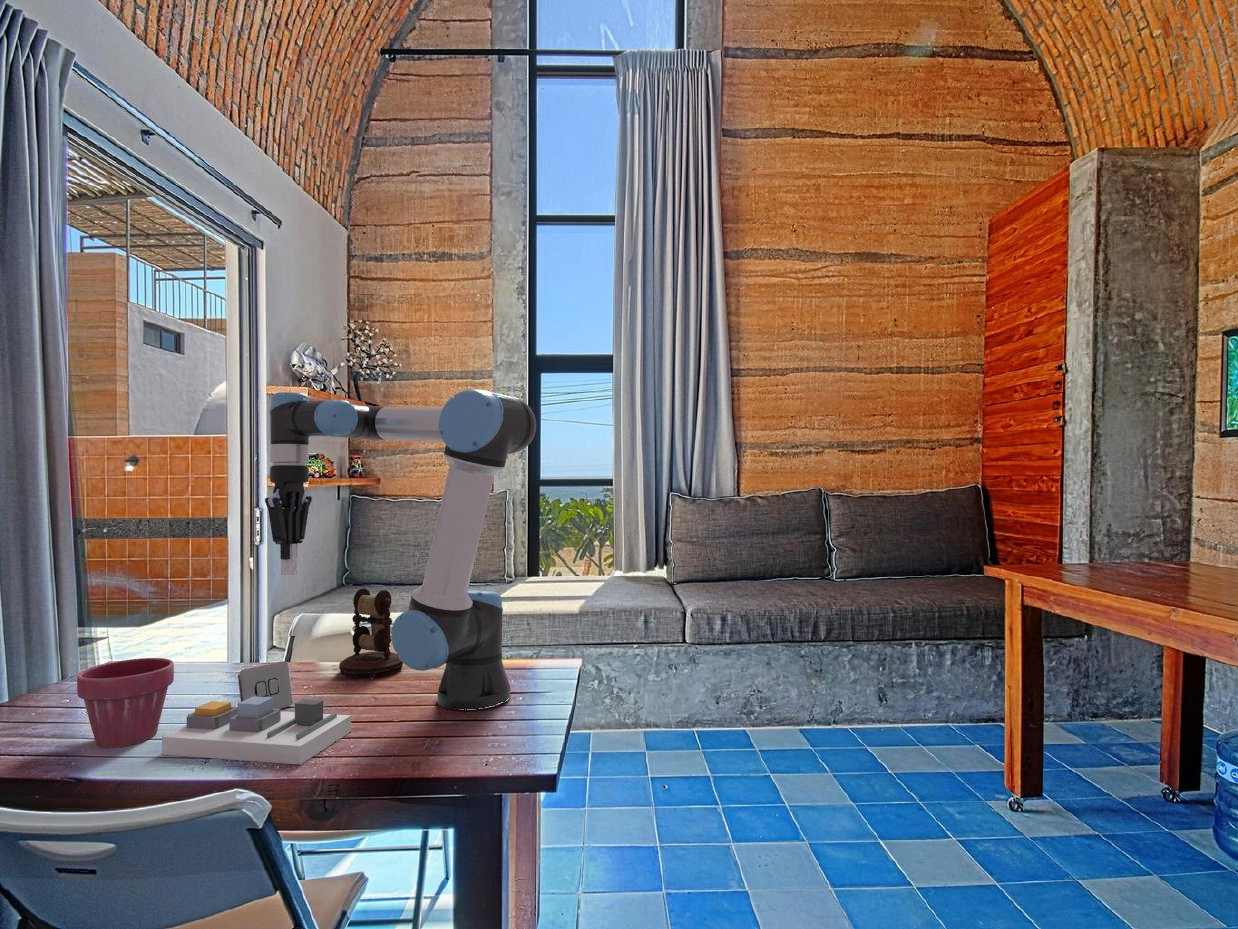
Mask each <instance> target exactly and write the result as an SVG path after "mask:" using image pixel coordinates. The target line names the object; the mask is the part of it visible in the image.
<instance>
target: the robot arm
mask: <svg viewBox="0 0 1238 929" xmlns="http://www.w3.org/2000/svg"><path fill="white" fill-rule="evenodd" d="M269 409H270V410H269V415H270V416H269V418H270V419H269V420H270V421H269V422H270V425H269V426H270V428H269V429H270V430H269V431H270V433H269V434H270V437H269V438H270V454H269V455H270V460H269V462H270V463H271V464H273V465H271V466H270V468H269V482H270V483H272V484H274V487H273V491H272V495H271V496H269V497H265V498H264V503H265V506H266V507H267V510H268V517H269V518H268V519H269V523H270V524H269V525H270V529H271V537H272V542H273V543H275V545H280V546H279V547H280V549H279V550H280V553H279V554H280V556H279V557H280V575H282V576H284V575H285V576H293V575H297V574H298V573H297V572H298V569H297V566H298V561H297V559H298V544H303V540H305V537H306V529H307V524H308V517H309V509H310V505H311V503H312V500H313V497H312V496H310V495H309V496H308V495H306V494H305V492H306V489H305V487H304V484H306V483H308V482H309V474H310V473H309V471H310V470H309V466H307V464H308V463H309V462H310V460H309V458H310V454H309V453H310V452H309V451H310V450H309V448H310V446H309V444H310V442H309V438H310V437H332V438H334V437H335V438H344V439H345V438H346V439H347V438H348V439H362V440H370V441H384V440H385V441H406V442H407V441H408V442H409V441H411V442H435V443H444V444H445V448H444V452H443V456H444V458H445V460H446V461H447V462H448V466H449V467H448V472H447V474H446V480H445V484H444V488H443V492H442V497H441V502H440V506H439V511H438V515H437V519H436V524H435V528H434V533H433V537H432V541H431V546H430V550H429V555H428V560H427V562H426V563H427V564H426V568H425V573H424V577H423V582H422V584H421V585H420V586H419V587H417V588H415V589H414V590H413V591H412V593H411V598H410V601H409V606H408V610H405V611H403V612H402V613H400V615H398V616H397V617H396V618H395V619H394V621H393V622H392V625H391V626H392V627H391V630H390V634H391V645H392V647H393V650H394V652H395V653H396V654H398V657H399V659H400V660H401V661H402V662H403V665H405V666H407V667H408V668H409V669H412V670H415V671H418V672H419V671H420V672H423V671H424V672H425V671H429V670H432V669H433V670H434V669H439V668H441V666H444V665H445V667H444V670H443V674H442V676H441V680H440V683H439V686H438V688H437V700H436V701H437V702H436V703H437V704H438V706H440V705H441V706H442V708H444V707H445V708H444V709H447V708H448V709H447V710H451V709H456V710H455V711H460V710H459V709H464V710H465V709H466V710H467V709H479V708H485V707H489V706H493V705H496V704H498V703H501V702H505V701H506V700H507V699H508V698H509V697H510V698H511V684H510V682H509V678H508V675H507V673H506V669H505V667H504V663H503V612H504V609H503V603H502V602H503V601H502V596H501V594H500V593H498V592H497V591H492V590H478V589H477V590H475V589H473V590H471V589H469V587H470V582H471V577H472V573H473V569H474V565H475V561H476V557H477V551H478V548H479V543H480V540H481V534H482V531H483V526H484V522H485V517H486V512H487V509H488V504H489V500H490V496H491V492H492V487H493V484H494V478H495V476H496V474H498V473H499V472H501V471H502V470H503V469H505V467H506V462H507V458H508V455H510V454H516V453H519V452H522V451H523V450H525V449H526V448H527V447H528V446H529V445H530V444H531V442H532V441H533V440H534V437H535V435H536V432H537V420H536V416H535V414H534V412H533V410H532V408H531V406H530V405H528V404H527V403H526V402H525V401H524V400H522V399H521V398H517V397H514V396H509V395H505V394H500V393H497V392H492V391H488V390H487V389H486V390H485V389H484V390H483V389H471V388H470V389H464V390H461V391H458V392H457V393H456V394H455V395H453V396H451V397H450V398H449V399H448V400H447V401H446V403H445V404H444V405H443V407H442V406H441V407H439V406H438V407H436V406H432V407H431V406H427V407H426V406H380V405H379V406H377V405H376V406H374V405H373V406H372V405H370V406H369V405H360V404H355V403H350V401H348V400H345V399H335V398H334V399H330V398H329V399H327V400H314V401H310V397H309V395H307V394H306V393H303V392H295V391H291V392H290V391H289V392H286V391H285V392H284V391H282V392H281V391H280V392H276V393H274V394H272V395H271V400H270V408H269ZM441 706H440V707H441Z"/></svg>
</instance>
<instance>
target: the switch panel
mask: <svg viewBox="0 0 1238 929" xmlns="http://www.w3.org/2000/svg"><path fill="white" fill-rule="evenodd" d="M185 722H186V725H185V726H183V727H180V728H179V729H176V730H174V731H172V732H170V733H168V734H165V735H163V736H162V737H161V755H164V756H165V755H166V756H176V757H177V756H178V757H179V756H180V757H189V758H190V757H191V758H207V759H219V760H230V761H231V760H232V761H233V760H234V761H246V762H259V763H260V762H261V763H272V764H273V763H274V764H290V765H302V764H304V763H305V762H307V761H308V760H310V759H311V758H313V757H314V756H317V754H319V753H320V751H321V752H322V751H324V750H325V749H327V748H328V747H330V746H331V745H333V744H335V743H336V742H338V741H339V740H340V739H343V738H344V737H346V736H347V735H349V734H350V733H352V715H351V714H350V715H348V714H337V713H336V712H333V713H323V719H322V720H321V721H319V722H317V723H315V724H314V725H305V724H295V711H281V709H273V712H272V713H270V714H268V715H266V716H264V717H262V718H260V719H249V718H238V706H232V705H231V709H230V710H228V711H226V712H224V713H222V714H219V715H217V716H200V715H195V711H193V712H191V713H189V714H188V715H186V721H185ZM349 732H350V733H349ZM335 741H336V742H335ZM334 742H335V743H334Z"/></svg>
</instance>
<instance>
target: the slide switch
mask: <svg viewBox="0 0 1238 929" xmlns="http://www.w3.org/2000/svg"><path fill="white" fill-rule="evenodd" d="M294 712H295V724H305V725H314V724H315V723H317V722H319V721H321V720H322V719H323V714H324V700H323V699H321V700H320V699H308V698H307V699H304V698H303V699H301V700H299V701H297V702H295V703H294Z"/></svg>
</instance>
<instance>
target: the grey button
mask: <svg viewBox="0 0 1238 929" xmlns="http://www.w3.org/2000/svg"><path fill="white" fill-rule="evenodd" d="M237 707H238V718H249V719H260V718H262V717H264V716H266V715H268V714H270V713H272V712H273V697H255V696H253V697H251V698H249V699H246V700H244V701H242V702H241V701H240V702H237Z"/></svg>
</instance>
